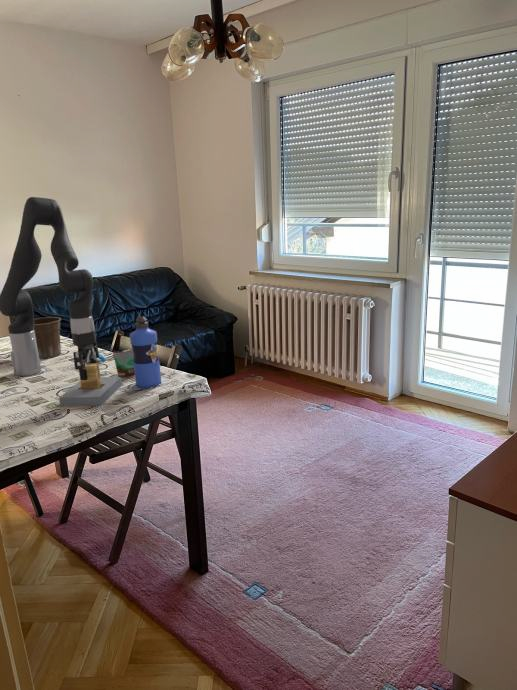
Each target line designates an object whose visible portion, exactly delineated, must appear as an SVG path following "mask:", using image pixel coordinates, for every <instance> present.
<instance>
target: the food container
mask: <svg viewBox="0 0 517 690" xmlns="http://www.w3.org/2000/svg"><path fill="white" fill-rule="evenodd" d="M112 359H114V363H115V367H116V368H115V369H116V373H117V377H121V378H129V377H130V376H131V377H135V376H134V375H135V372H134V363H133V362H134V354H133V349H132V347H131V348H127V349H124V350H122V351H120V352H114V351H113V352H112ZM131 377H130V378H131Z"/></svg>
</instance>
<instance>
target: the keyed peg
mask: <svg viewBox="0 0 517 690" xmlns="http://www.w3.org/2000/svg"><path fill="white" fill-rule="evenodd" d="M99 364H100V363H99V362H98V363H87V366H86V370H87V377H88V379H87V380H81V378H80V377H79V381H80V382H81V389H101V388H102V384H101V370H100V365H99ZM83 366H84V363H83ZM78 373H79V374H78V376H80V371H79V370H78Z"/></svg>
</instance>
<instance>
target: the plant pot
mask: <svg viewBox="0 0 517 690" xmlns="http://www.w3.org/2000/svg"><path fill="white" fill-rule="evenodd" d="M61 321H62V318H61V317H57V316H49V317H47V316H45V317H39V318H37V317H36V318H34V331H35V336H36V342H37V348H38V354H39V360H40V359H51V358H55V357H58V356H59V355H61V353H62V349H61V346H62V345H61Z"/></svg>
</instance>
